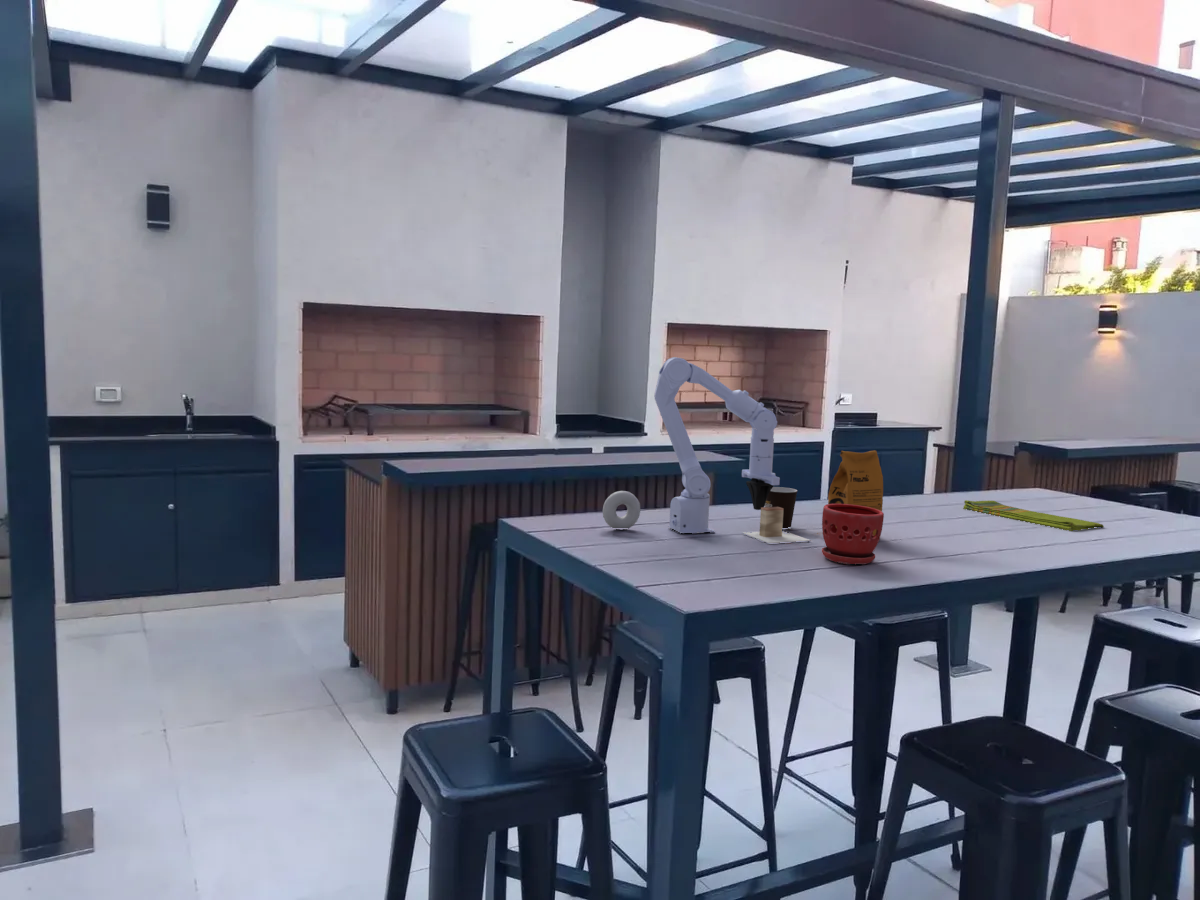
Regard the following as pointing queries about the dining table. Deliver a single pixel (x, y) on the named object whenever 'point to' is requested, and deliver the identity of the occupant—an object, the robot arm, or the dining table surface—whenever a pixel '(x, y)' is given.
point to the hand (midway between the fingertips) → (758, 509)
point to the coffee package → (858, 481)
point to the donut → (614, 502)
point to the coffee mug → (783, 502)
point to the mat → (779, 539)
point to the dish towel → (1029, 515)
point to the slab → (771, 521)
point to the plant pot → (851, 533)
